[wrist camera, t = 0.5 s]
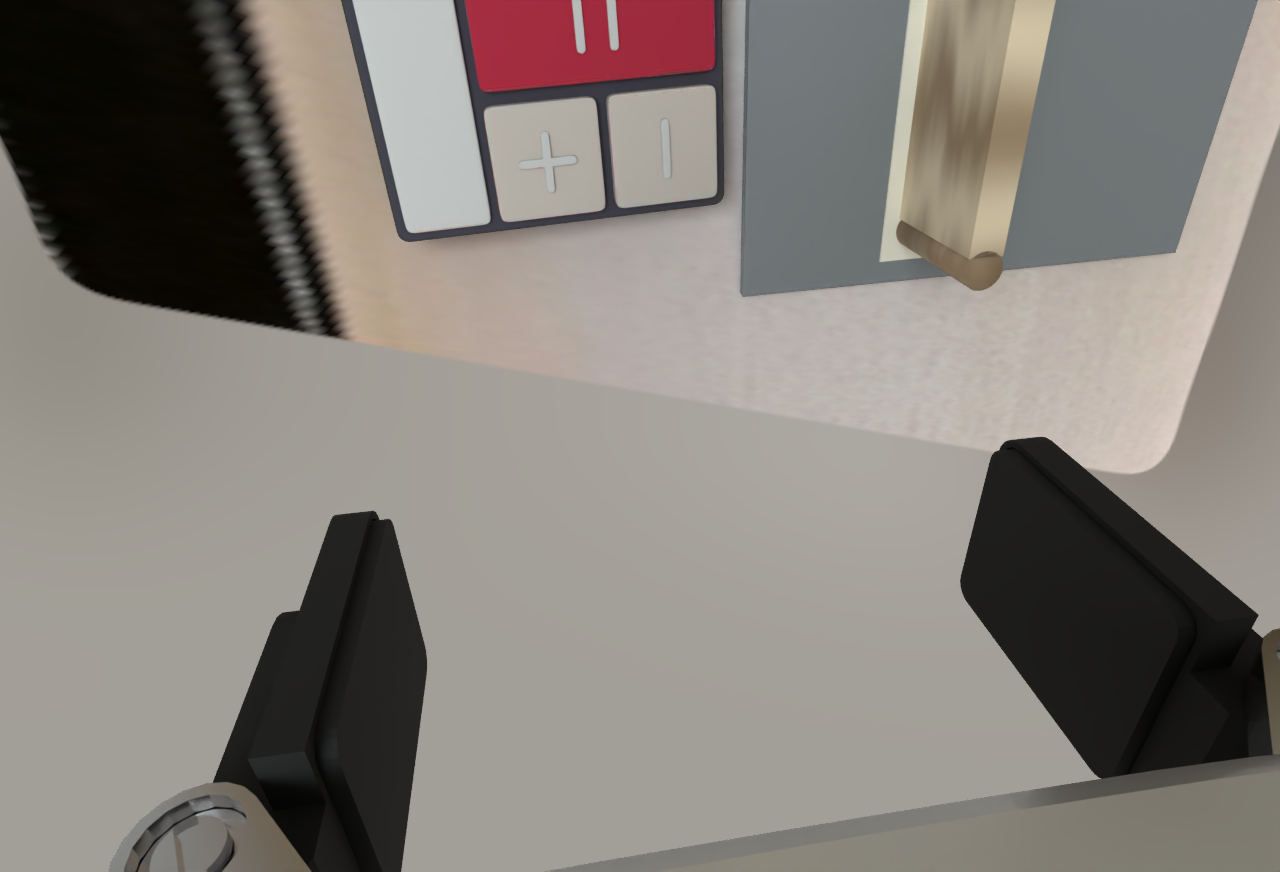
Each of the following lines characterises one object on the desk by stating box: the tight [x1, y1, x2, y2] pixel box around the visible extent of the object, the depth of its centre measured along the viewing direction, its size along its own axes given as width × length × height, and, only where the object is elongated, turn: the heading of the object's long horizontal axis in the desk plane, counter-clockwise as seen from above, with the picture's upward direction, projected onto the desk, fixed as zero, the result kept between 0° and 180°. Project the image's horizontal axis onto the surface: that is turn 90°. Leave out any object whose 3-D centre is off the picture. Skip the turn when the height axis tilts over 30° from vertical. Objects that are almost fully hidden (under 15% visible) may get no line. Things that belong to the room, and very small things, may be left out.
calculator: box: [341, 0, 724, 242], centre depth 32 cm, size 11×4×15 cm
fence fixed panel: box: [896, 0, 1056, 290], centre depth 33 cm, size 12×2×7 cm, turn 3°
